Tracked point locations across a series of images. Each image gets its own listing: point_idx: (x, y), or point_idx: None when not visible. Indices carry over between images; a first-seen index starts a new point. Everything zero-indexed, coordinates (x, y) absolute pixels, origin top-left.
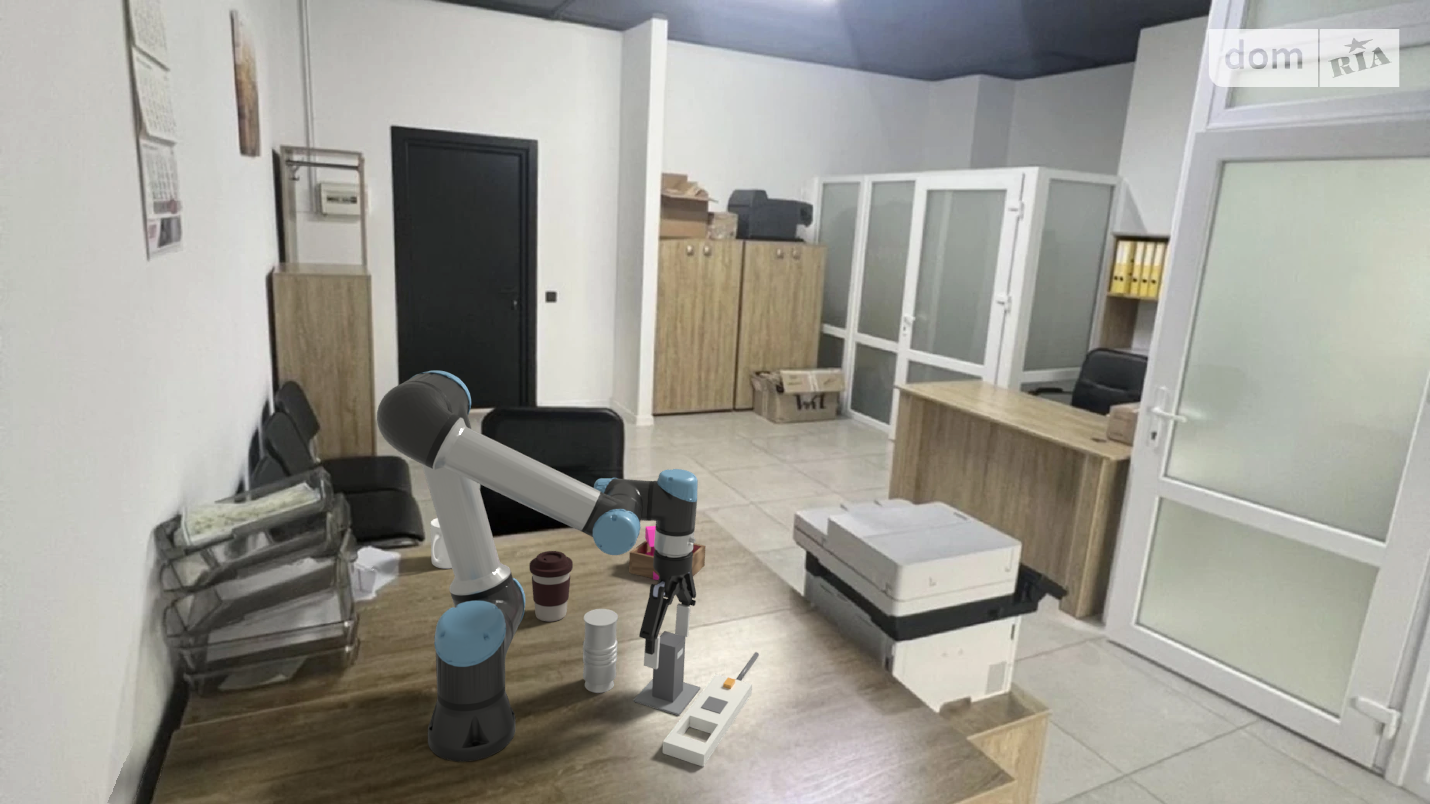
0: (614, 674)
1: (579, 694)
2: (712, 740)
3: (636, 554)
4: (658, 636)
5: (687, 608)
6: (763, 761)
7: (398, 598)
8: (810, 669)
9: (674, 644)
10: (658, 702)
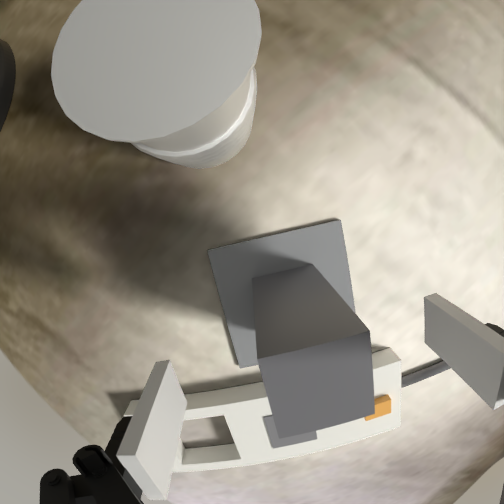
0: (215, 163)
1: None
2: (196, 469)
3: None
4: (160, 495)
5: (492, 401)
6: (239, 498)
7: None
8: (489, 414)
9: (296, 425)
10: (242, 307)
